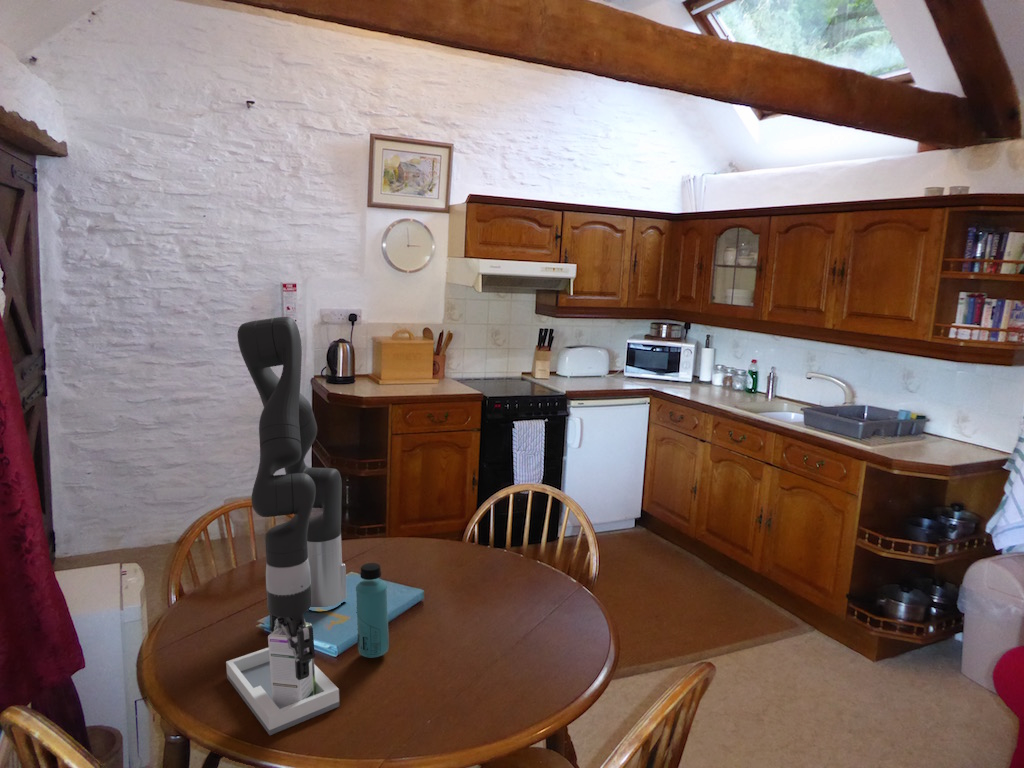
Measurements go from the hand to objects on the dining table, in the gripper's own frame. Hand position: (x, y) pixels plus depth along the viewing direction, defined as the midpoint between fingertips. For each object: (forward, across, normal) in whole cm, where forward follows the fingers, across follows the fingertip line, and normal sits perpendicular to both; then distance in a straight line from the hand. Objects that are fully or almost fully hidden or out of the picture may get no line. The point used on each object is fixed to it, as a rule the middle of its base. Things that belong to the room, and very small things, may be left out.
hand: (292, 667), depth 129 cm
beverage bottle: (+8, +6, -19) cm, 22 cm away
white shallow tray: (+8, +6, 0) cm, 10 cm away
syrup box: (+7, 0, 0) cm, 7 cm away
